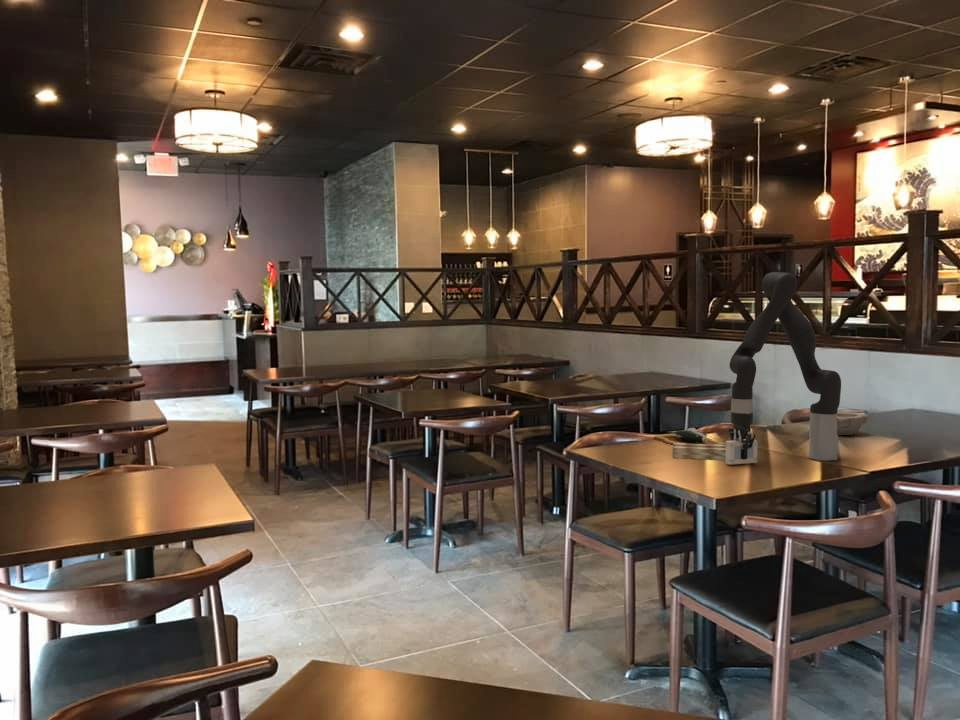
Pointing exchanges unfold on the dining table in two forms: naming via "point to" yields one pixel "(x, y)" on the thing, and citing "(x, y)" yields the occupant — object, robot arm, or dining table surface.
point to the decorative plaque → (686, 437)
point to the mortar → (850, 422)
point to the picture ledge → (699, 451)
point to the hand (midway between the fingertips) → (741, 458)
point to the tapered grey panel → (735, 453)
